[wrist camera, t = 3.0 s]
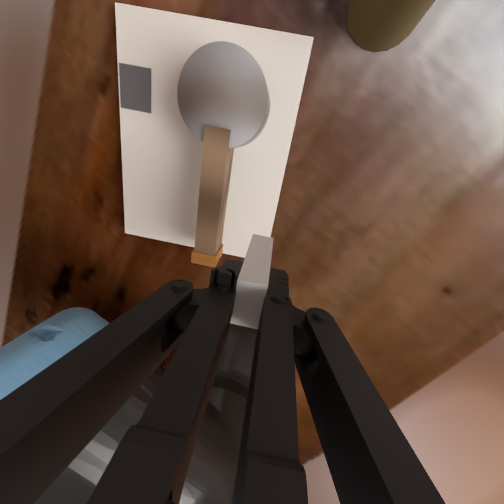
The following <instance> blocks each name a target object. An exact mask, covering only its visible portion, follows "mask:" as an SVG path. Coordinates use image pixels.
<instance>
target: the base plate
mask: <svg viewBox="0 0 504 504" xmlns="http://www.w3.org/2000/svg"><path fill="white" fill-rule="evenodd" d="M115 16H116V39H117V61H118V84H119V107H120V129H121V152H122V175H123V197H124V220H125V233H127V234H132V235H137V236H141V237H146V238H151V239H156V240H161V241H166V242H171V243H176V244H180V245H185V246H190V247H195V236H196V224H197V212H198V200H199V188H200V176H201V164H202V152H203V142H201V141H200V140H199V139H197V138H196V137H195V136H194V135H193V134H192V133H191V131H190V130H189V129H188V127H187V126H186V124H185V123H184V120H183V118H182V116H181V113H180V110H179V106H178V99H177V88H178V81H179V76H180V73H181V70H182V68H183V66H184V64H185V63H186V61H187V60H188V58H189V57H190V56H191V55H192V53H194V52H195V51H196V50H197V49H198V48H200V47H202V46H203V45H206V44H208V43H211V42H217V41H225V42H231V43H234V44H236V45H239V46H241V47H242V48H244V49H245V50H247V51H248V52H249V53H250V54H251V55H252V56H253V57H254V58H255V60H256V61H257V63H258V64H259V66H260V68H261V70H262V72H263V74H264V77H265V80H266V84H267V88H268V92H269V98H270V111H269V116H268V120H267V123H266V125H265V127H264V129H263V130H262V132H261V133H260V135H259V136H258V137H257V138H256V139H255V140H254V141H252V142H251V143H249V144H247V145H245V146H242V147H237V148H234V153H233V160H232V168H231V175H230V183H229V191H228V198H227V206H226V214H225V221H224V229H223V236H222V244H223V252H222V253H224V254H229V255H234V256H239V257H244V258H245V256H246V253H247V250H248V247H249V244H250V241H251V239H252V236H253V234H256V235H261V236H266V237H270V236H271V232H272V227H273V222H274V218H275V213H276V209H277V204H278V200H279V195H280V190H281V186H282V181H283V177H284V172H285V167H286V163H287V158H288V154H289V149H290V144H291V140H292V135H293V131H294V126H295V122H296V117H297V112H298V108H299V103H300V99H301V94H302V89H303V85H304V80H305V76H306V71H307V66H308V62H309V57H310V53H311V48H312V44H313V39H314V37H310V36H304V35H299V34H293V33H287V32H281V31H276V30H270V29H264V28H259V27H253V26H247V25H241V24H236V23H230V22H224V21H219V20H213V19H207V18H202V17H196V16H190V15H184V14H179V13H173V12H167V11H162V10H156V9H150V8H144V7H139V6H133V5H127V4H122V3H116V2H115Z"/></svg>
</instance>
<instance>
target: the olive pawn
mask: <svg viewBox="0 0 504 504" xmlns="http://www.w3.org/2000/svg"><path fill="white" fill-rule="evenodd" d="M434 2H435V0H349V1H348V4H347V24H348V29H349V33H350V35H351V36H352V38H353V40H354V41H355V43H356V44H358V45H359V46H360V47H362V48H363V49H364V50H368V51H372V52H380V51H387V50H389V49H391V48H393V47H395V46H397V45H398V44H400V43H401V42H402V41H403V40H404V39H405V38H406V37H407V36H408V35H409V34H410V33H411V32H412V30H413V29H414V28H415V26H416V25H417V24H418V23H419V21H420V20H421V19H422V17H423V16H424V15H425V13H426V12H427V11H428V9H429V8H430V7H431V6H432V4H433V3H434Z"/></svg>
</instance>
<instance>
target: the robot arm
mask: <svg viewBox="0 0 504 504" xmlns="http://www.w3.org/2000/svg"><path fill="white" fill-rule="evenodd" d="M272 247H273V238H271V237H266V236H261V235H256V234H253V236H252V239H251V241H250V244H249V247H248V250H247V253H246V256H245V259H244V262H238V261H233V260H228V261H226V262H225V263H224V264H223V266H222V267H216V268H214V269H213V270H211V279H210V285H209V287H208V288H204V289H193V285H192V284H191V283H190V282H188V281H185V280H173V281H170V282H168V283H166V284H165V285H163V286H162V287H161V288H159V289H158V290H156V291H155V292H153V293H152V294H151V295H149V296H148V297H146V298H145V299H143V300H142V301H141V302H139V303H138V304H136V305H135V306H133V307H132V308H131V309H129V310H128V311H126V312H125V313H124V314H122V315H121V316H119V317H118V318H116V319H115V320H114V321H112V322H111V323H109V322H107V321H106V320H105V319H103V318H102V317H101V316H99V315H98V314H97V313H95V312H94V311H92V310H90V309H88V308H83V307H73V308H69V309H65V310H63V311H61V312H59V313H57V314H55V315H53V316H52V317H50V318H48V319H46V320H45V321H43V322H41V323H40V324H38V325H36V326H35V327H33V328H32V329H30V330H28V331H27V332H25V333H24V334H22V335H20V336H19V337H17V338H16V339H14V340H12V341H11V342H9V343H8V344H6V345H4V346H3V347H1V348H0V504H308V496H307V482H306V474H305V470H304V467H303V466H302V465H301V464H300V461H299V454H298V432H297V409H296V386H295V364H296V368H297V371H298V374H299V377H300V380H301V383H302V386H303V389H304V392H305V395H306V399H307V402H308V405H309V408H310V411H311V414H312V417H313V420H314V423H315V426H316V430H317V433H318V436H319V439H320V442H321V445H322V448H323V451H324V454H325V457H326V461H327V464H328V467H329V470H330V473H331V476H332V479H333V482H334V485H335V489H336V492H337V494H338V498H339V501H340V504H445V502H444V501H443V499H442V497H441V496H440V494H439V492H438V491H437V489H436V487H435V486H434V484H433V482H432V481H431V479H430V477H429V476H428V474H427V472H426V471H425V469H424V467H423V466H422V464H421V462H420V461H419V459H418V458H417V456H416V454H415V453H414V451H413V449H412V448H411V446H410V444H409V443H408V441H407V439H406V438H405V436H404V434H403V433H402V431H401V429H400V428H399V426H398V425H397V423H396V421H395V419H394V418H393V416H392V414H391V413H390V411H389V409H388V408H387V406H386V404H385V403H384V401H383V399H382V398H381V396H380V395H379V393H378V391H377V390H376V388H375V386H374V385H373V383H372V381H371V380H370V378H369V376H368V375H367V373H366V371H365V370H364V368H363V366H362V365H361V363H360V361H359V360H358V358H357V356H356V355H355V353H354V351H353V350H352V348H351V346H350V345H349V343H348V342H347V340H346V338H345V337H344V335H343V333H342V332H341V330H340V328H339V327H338V325H337V323H336V322H335V320H334V318H333V317H332V316H331V315H330V314H329V313H328V312H326V311H325V310H322V309H320V308H310V309H308V310H307V311H306V312H304V311H302V310H299V309H298V308H296V307H294V306H293V305H292V301H291V299H290V298H289V285H288V274H287V273H286V272H285V271H284V270H279V269H274V268H270V265H271V256H272ZM178 344H179V345H178ZM177 345H178V347H177V349H176V351H175V353H174V355H173V357H172V359H171V361H170V363H169V365H168V367H167V369H166V370H165V369H164V368H163V367H162V366H161V365H160V364H161V363H162V362H163V361H164V359H165V358H166V357H167V356H168V355H169V354H170V353H171V352H172V351H173V350H174V348H175V347H176V346H177ZM294 361H295V364H294Z"/></svg>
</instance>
